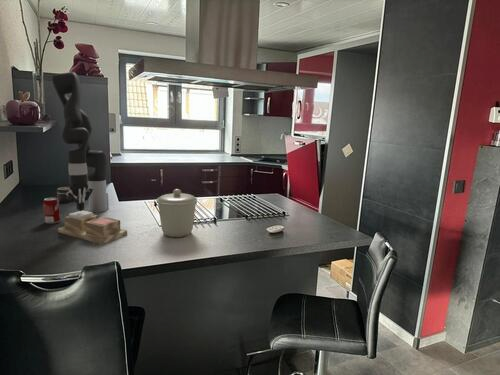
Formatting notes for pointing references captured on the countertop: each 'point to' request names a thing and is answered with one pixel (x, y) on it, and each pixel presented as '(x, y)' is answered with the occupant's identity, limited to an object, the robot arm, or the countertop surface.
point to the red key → (102, 221)
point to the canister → (177, 213)
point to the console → (92, 229)
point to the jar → (63, 194)
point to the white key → (81, 215)
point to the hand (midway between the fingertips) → (80, 210)
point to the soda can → (51, 210)
